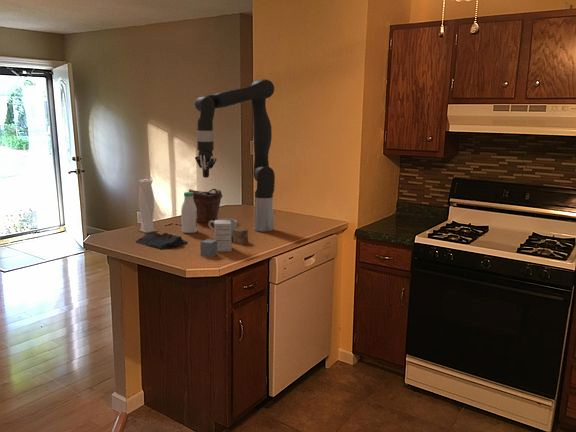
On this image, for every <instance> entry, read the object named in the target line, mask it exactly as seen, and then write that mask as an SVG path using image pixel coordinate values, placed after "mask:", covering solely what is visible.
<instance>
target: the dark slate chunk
mask: <svg viewBox="0 0 576 432" xmlns="http://www.w3.org/2000/svg"><path fill="white" fill-rule="evenodd" d="M135 243H136V244H139V245H142V246H146V247H149V248H153V249H157V250H160V251H161V250H166V251H168V250H170V249H175V248H176V249H177V248H179V247H182V246H184V245H186V244H188V243H189V242H188V241H186V240H184V239H183V238H182V236H178V235H173V234H171V233H170V234H169V233H167V232H164V233H162V234H161V233H157V232H151V233H146V234H145V235H143V236H142V237H140V238H138V239H137V240H136V241H135Z"/></svg>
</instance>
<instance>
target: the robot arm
mask: <svg viewBox="0 0 576 432" xmlns="http://www.w3.org/2000/svg"><path fill="white" fill-rule="evenodd" d="M274 92H275V85H274V83H273V82H272V81H271V80H268V79H266V78H263V79H262V78H261V79H255V80H254V81H253V82H252V83H251V85H250V86H245V87H240V88H235V89H228V90H225V91H224V90H223V91H221V92H218V93H217V92H216V93H213V94H209V95H203V96H199V97H198V98H197V99H196V100H195V102H194V106H195V109H196V110H197V111H198V112H200V113H199V114H200V116H199V118H198V119H197V132H196V133H197V134H196V144H197V145H196V146H197V151H198V154H197V156H195V157H194V159H195V162H196V163H197V165H198V168H199V169H200V168H201V170H202V176H203V178H206V179H207V178H209V176H210V169H213V167H214V165H215V164H216V162H217V158H216V157H214V155H213V151H214V150H215V149H214V145H215V143H214V139H215V138H214V123H213V121H214V118H215V117H214V116H215V111H216V110H215V109H220V108H222V109H223V108H226V107H229V106H231V107H232V106H233V105H237V104H240V103H243V102H246V101H250V100H251V105H252V106H251V107H252V133H253V134H252V135H253V138H252V139H253V152H254V153H253V154H254V159H253V160H254V161H253V172H252V173H253V178H254V180H255V181H256V190H255V192H254V231H257V232H271V231H273V230H274V228H275V227H274V225H275V223H274V222H275V220H274V219H275V216H274V215H275V211H274V210H273V208H274V207H273V205H274V202H273V199H274V192H275V184H276V183H275V181H276V176H275V175H276V174H275V171H274V169H273V168H272V167H270V165H269V163H270V162H269V153H270V148H271V144H272V138H273V137H272V134H273V132H272V123H271V119H270V117H269V116H268V112H267V107H266V106H267V104H266V103H267V102H266V100H267V99H269V98H270V97H271V96H273V94H274Z"/></svg>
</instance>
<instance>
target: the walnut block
mask: <svg viewBox="0 0 576 432" xmlns="http://www.w3.org/2000/svg"><path fill="white" fill-rule="evenodd" d="M232 243H235V244H237V245H242V244H247V243H249V229H246V228H242V227H240V228H237V229H235V230H233V237H232Z"/></svg>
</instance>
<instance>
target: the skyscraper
mask: <svg viewBox="0 0 576 432" xmlns="http://www.w3.org/2000/svg"><path fill="white" fill-rule="evenodd" d="M138 184H139V191H138V208H139V214H140V218H141V223H140V224H141V225H140V229H138V232H141V233H144V234H148V233H157V232H159V230H158V229H156V228H155V225H154V224H153V216H154V210H155V197H154V191H153V186H152V184H153V177H152V176H151V175H150V176H149V177H148V178H143V179H142V178H140V179H139V180H138Z"/></svg>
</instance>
